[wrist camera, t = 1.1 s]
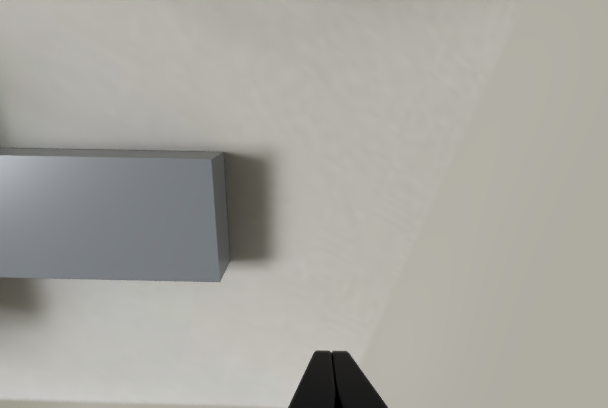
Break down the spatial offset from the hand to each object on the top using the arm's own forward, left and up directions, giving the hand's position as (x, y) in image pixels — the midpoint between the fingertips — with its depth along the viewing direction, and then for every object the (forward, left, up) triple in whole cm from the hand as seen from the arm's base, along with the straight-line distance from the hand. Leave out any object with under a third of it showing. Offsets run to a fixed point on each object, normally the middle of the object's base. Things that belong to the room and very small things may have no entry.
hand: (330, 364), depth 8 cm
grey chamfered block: (-8, -11, -12) cm, 18 cm away
